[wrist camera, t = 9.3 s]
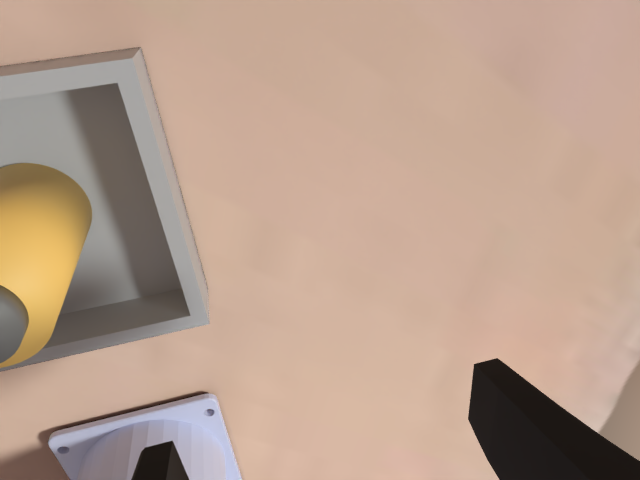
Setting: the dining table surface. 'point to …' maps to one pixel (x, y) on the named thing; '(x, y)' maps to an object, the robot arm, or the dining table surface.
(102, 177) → the grey tray
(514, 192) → the dining table surface
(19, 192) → the cylinder
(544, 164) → the dining table surface
